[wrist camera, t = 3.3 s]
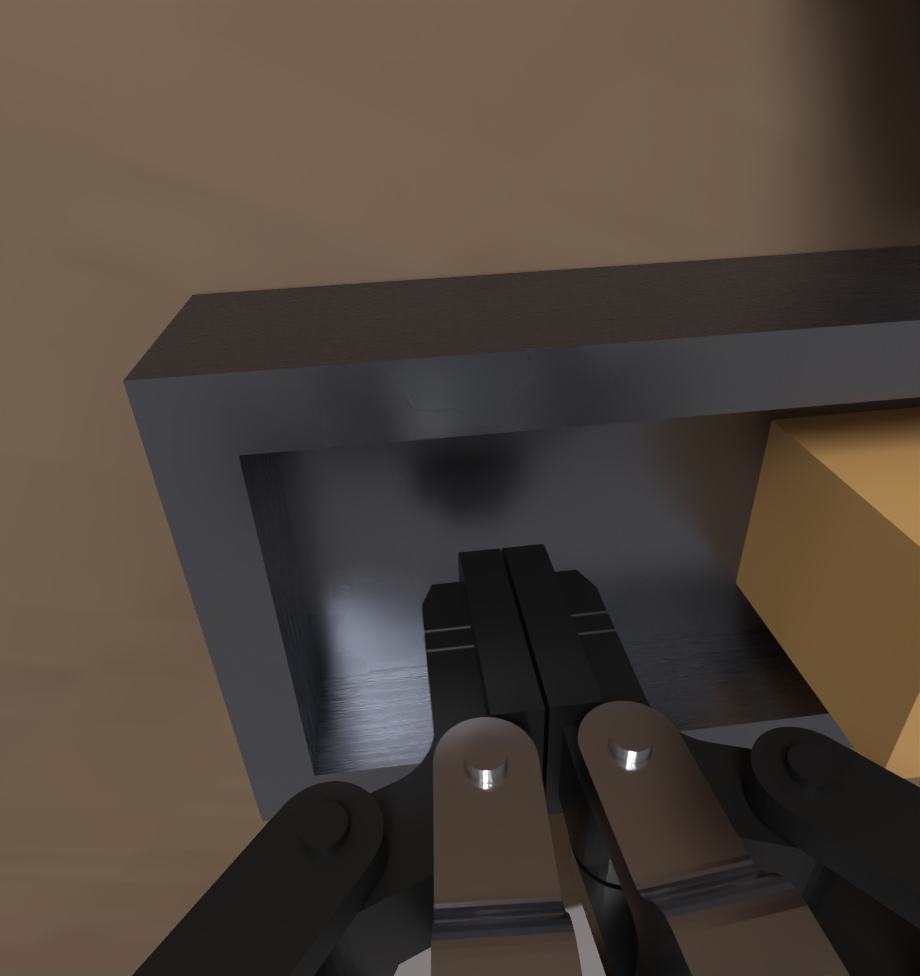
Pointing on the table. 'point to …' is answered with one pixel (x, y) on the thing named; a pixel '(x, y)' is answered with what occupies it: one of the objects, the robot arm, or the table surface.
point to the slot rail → (498, 477)
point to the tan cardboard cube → (845, 570)
